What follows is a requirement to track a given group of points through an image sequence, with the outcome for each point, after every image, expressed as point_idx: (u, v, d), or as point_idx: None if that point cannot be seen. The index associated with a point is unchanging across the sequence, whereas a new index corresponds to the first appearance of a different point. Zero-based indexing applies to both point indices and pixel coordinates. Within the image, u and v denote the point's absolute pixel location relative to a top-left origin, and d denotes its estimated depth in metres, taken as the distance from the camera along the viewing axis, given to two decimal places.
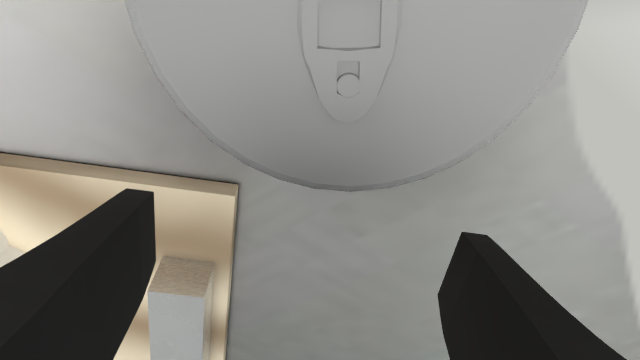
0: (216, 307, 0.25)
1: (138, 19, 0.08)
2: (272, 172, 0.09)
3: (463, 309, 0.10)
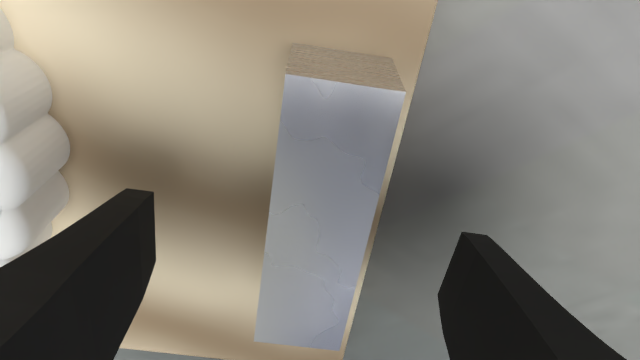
0: None
1: None
2: None
3: (463, 309, 0.10)
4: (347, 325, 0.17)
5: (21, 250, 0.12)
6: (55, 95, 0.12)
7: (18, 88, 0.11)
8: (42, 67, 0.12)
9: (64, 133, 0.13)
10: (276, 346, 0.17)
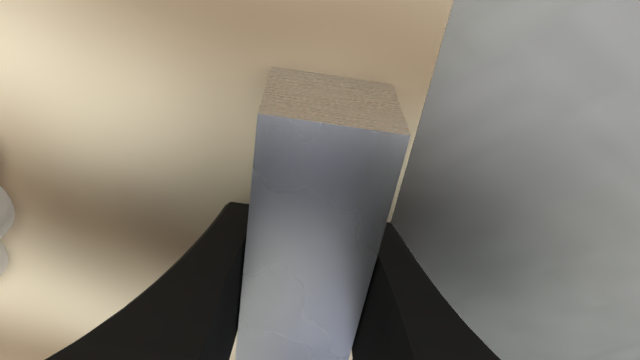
0: None
1: None
2: None
3: None
4: None
5: None
6: None
7: None
8: None
9: None
10: None
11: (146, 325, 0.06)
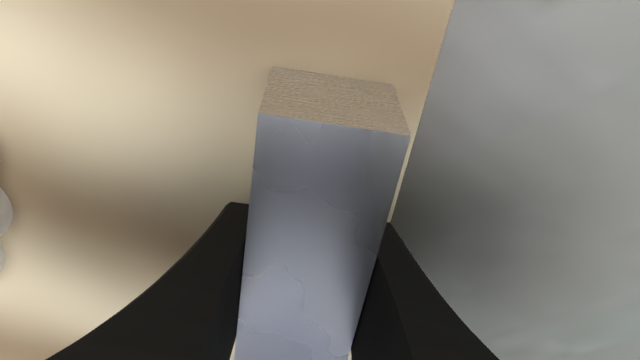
0: None
1: None
2: None
3: None
4: None
5: None
6: None
7: None
8: None
9: None
10: None
11: (146, 325, 0.06)
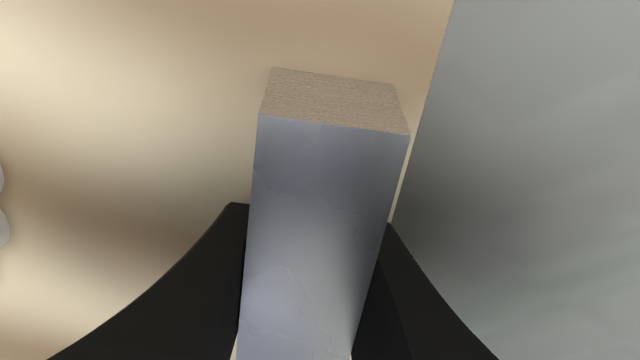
0: None
1: None
2: None
3: None
4: None
5: None
6: None
7: None
8: None
9: None
10: None
11: (147, 325, 0.06)
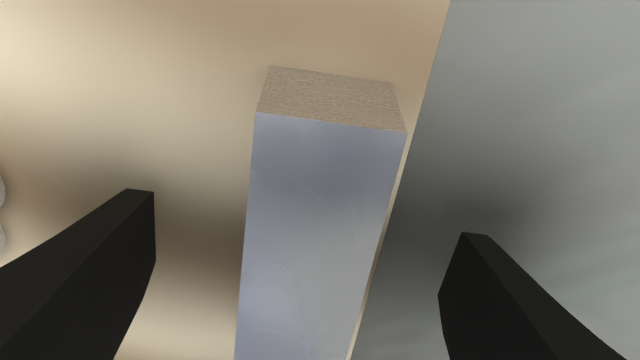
0: None
1: None
2: None
3: (463, 309, 0.10)
4: None
5: None
6: None
7: None
8: None
9: None
10: None
11: None
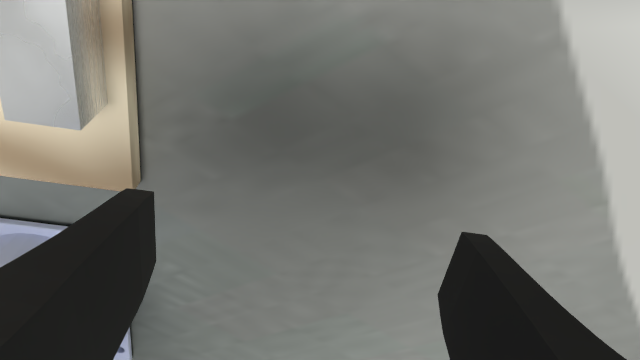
0: None
1: None
2: None
3: (463, 309, 0.10)
4: (126, 140, 0.19)
5: None
6: None
7: None
8: None
9: None
10: (70, 164, 0.20)
11: None
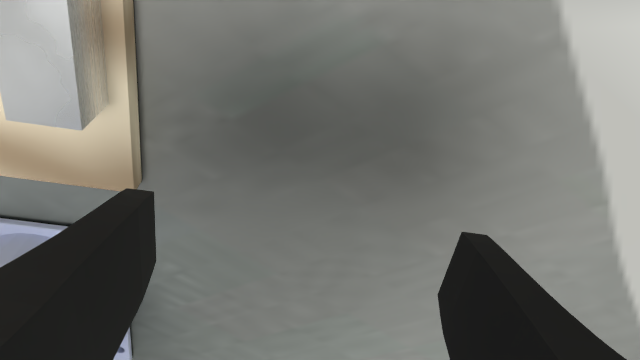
0: None
1: None
2: None
3: (463, 309, 0.10)
4: (127, 140, 0.19)
5: None
6: None
7: None
8: None
9: None
10: (71, 164, 0.20)
11: None
